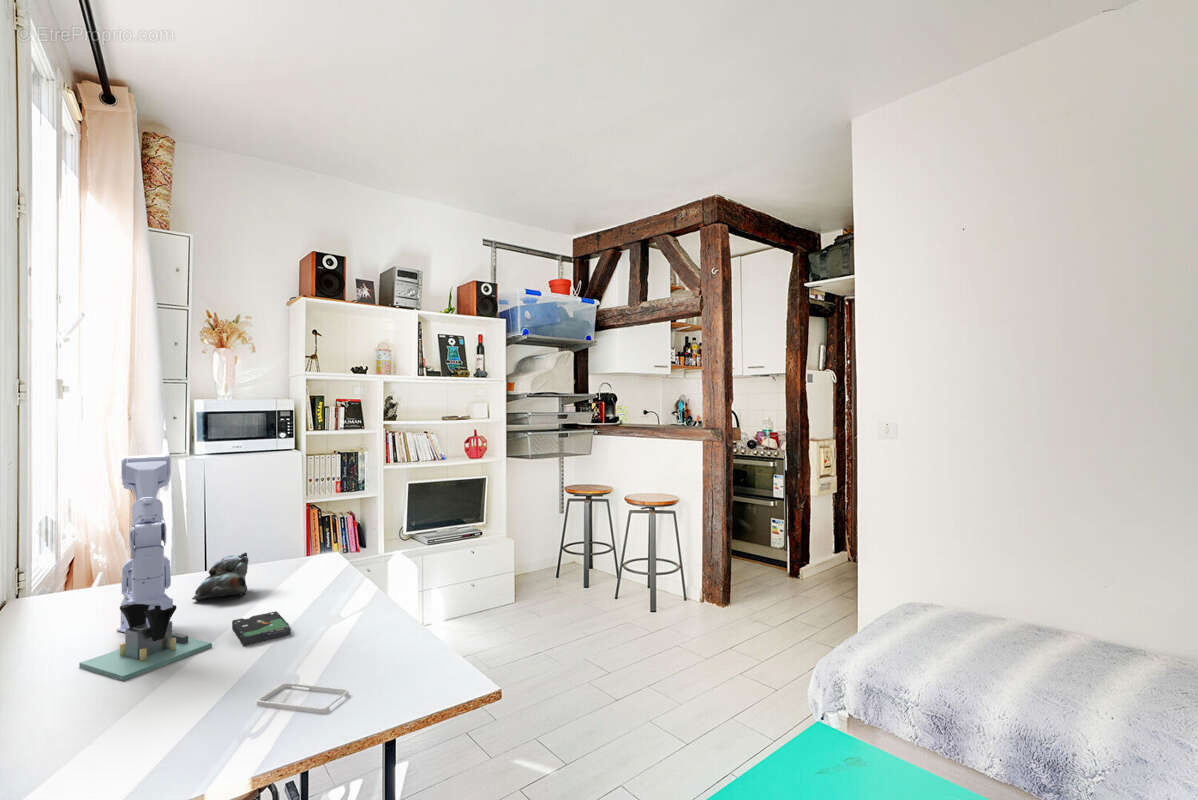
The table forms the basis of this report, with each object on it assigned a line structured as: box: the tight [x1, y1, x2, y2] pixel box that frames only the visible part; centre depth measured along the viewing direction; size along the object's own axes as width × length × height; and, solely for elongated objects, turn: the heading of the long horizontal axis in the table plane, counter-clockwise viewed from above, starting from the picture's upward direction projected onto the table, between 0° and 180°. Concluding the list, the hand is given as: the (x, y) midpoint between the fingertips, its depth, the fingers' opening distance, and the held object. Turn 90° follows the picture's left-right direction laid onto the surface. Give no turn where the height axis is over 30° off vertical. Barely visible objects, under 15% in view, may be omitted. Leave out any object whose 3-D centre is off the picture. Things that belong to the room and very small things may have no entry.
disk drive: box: [231, 611, 292, 647], centre depth 144 cm, size 10×3×15 cm
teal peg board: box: [78, 632, 213, 682], centre depth 130 cm, size 16×18×4 cm
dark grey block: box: [124, 620, 173, 660], centre depth 131 cm, size 4×7×6 cm, turn 157°
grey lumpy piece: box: [191, 552, 249, 602], centre depth 173 cm, size 15×12×14 cm
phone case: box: [256, 682, 350, 714], centre depth 111 cm, size 7×1×15 cm
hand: (148, 636), depth 130 cm, fingers open, 7 cm apart
